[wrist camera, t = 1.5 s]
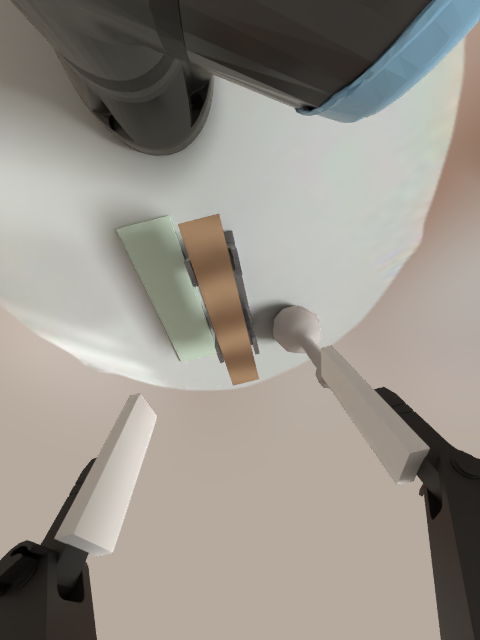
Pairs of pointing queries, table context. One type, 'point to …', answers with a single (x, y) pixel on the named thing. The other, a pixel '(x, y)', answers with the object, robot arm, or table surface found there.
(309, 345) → the potion bottle
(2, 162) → the table surface
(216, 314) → the rail
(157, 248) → the mat
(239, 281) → the rack
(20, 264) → the table surface
